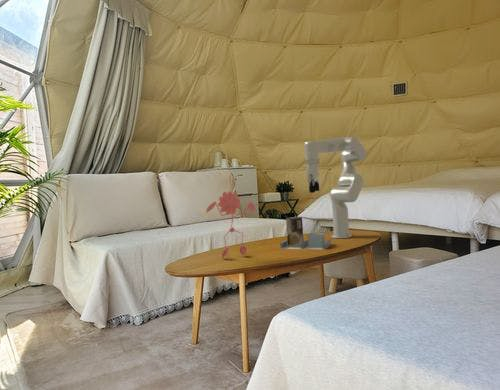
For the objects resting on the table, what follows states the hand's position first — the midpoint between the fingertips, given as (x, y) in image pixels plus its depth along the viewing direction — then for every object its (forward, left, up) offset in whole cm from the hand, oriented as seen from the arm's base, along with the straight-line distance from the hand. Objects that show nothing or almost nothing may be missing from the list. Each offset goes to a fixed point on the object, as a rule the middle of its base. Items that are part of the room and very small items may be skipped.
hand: (314, 191), depth 232 cm
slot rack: (+15, -3, -31) cm, 34 cm away
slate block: (+15, +3, -30) cm, 33 cm away
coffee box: (+15, -9, -30) cm, 34 cm away
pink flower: (+41, -36, -31) cm, 62 cm away
